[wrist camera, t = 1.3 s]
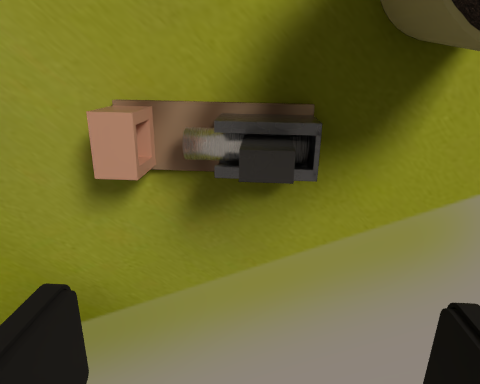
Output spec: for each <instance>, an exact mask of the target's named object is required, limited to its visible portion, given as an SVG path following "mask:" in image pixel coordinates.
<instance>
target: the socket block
mask: <svg viewBox="0 0 480 384" xmlns="http://www.w3.org/2000/svg"><path fill="white" fill-rule="evenodd" d="M87 120H88V128H89V136H90V144H91V152H92V160H93V168H94V176H95V179H118V180H139V179H140V178H141V177H142V176H143V175H145V174H146V173H147V172H148V171H149V170H150V169H152V168H153V167H154V166H155V165H156V160H155V145H154V129H153V114H152V106H109V107H104V108H100V109H96V110H91V111H87Z"/></svg>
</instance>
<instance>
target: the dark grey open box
mask: <svg viewBox="0 0 480 384" xmlns="http://www.w3.org/2000/svg"><path fill="white" fill-rule="evenodd" d="M321 132H322V123H321V122H320V121H319V120H318V119H317V118H316V117H315V116H312V115H271V114H231V113H222V114H221V115H220V116H219V117H217V118H216V119H215V120H214V133H244V134H280V135H309V152H308V159H307V163H295V168H294V181H317V175H318V164H319V153H320V143H321ZM214 168H215V178H238V179H239V161H219V163H218V165H215V167H214Z"/></svg>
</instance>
